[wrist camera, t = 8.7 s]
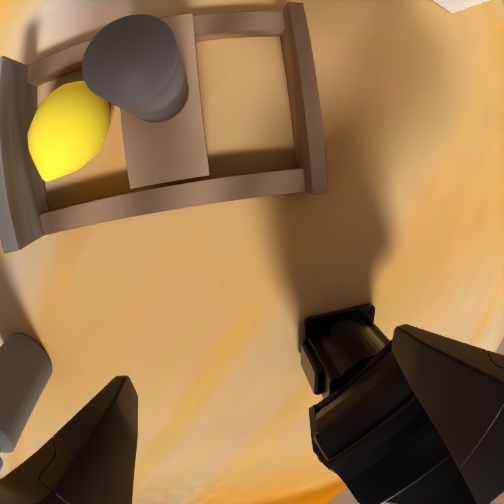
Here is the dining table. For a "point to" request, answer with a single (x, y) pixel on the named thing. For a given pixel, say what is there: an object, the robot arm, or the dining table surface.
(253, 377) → the dining table surface
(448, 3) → the milk carton
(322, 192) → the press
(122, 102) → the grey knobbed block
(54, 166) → the lemon
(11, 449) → the bottle
